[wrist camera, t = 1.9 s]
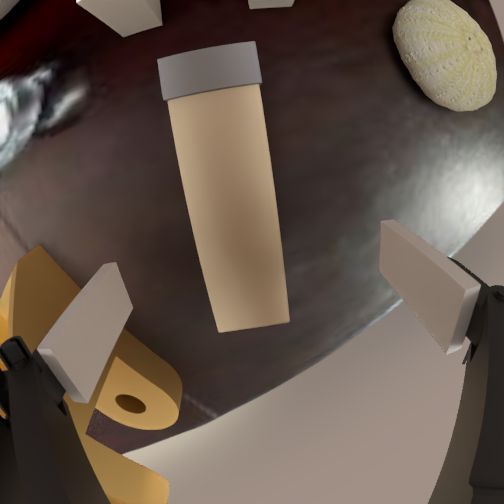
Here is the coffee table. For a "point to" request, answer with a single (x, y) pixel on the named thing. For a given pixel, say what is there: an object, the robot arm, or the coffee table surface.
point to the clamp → (110, 381)
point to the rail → (228, 181)
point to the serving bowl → (6, 6)
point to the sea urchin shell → (446, 53)
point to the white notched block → (146, 12)
